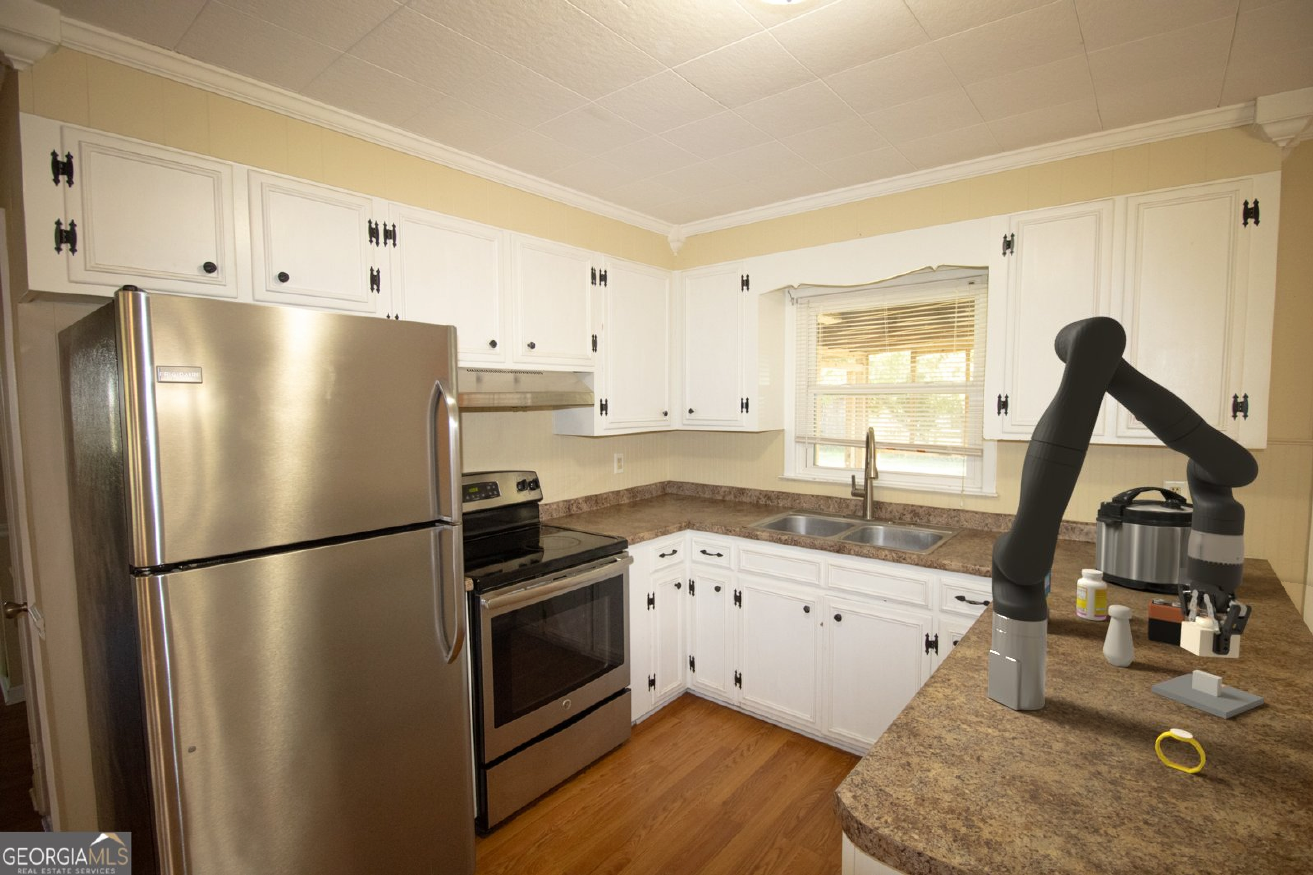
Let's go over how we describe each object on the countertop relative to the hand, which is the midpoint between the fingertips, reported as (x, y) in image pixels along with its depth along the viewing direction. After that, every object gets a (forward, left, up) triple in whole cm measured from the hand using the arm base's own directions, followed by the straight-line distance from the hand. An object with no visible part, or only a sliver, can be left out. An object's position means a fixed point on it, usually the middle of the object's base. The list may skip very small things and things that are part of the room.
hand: (1208, 648), depth 112 cm
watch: (-22, -6, -14) cm, 27 cm away
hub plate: (+11, +5, -14) cm, 18 cm away
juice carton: (+19, +47, -14) cm, 52 cm away
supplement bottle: (+39, +43, -14) cm, 60 cm away
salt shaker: (+13, +22, -14) cm, 29 cm away
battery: (+38, +25, -14) cm, 47 cm away
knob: (0, 0, -1) cm, 1 cm away
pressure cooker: (+89, +56, -14) cm, 106 cm away
